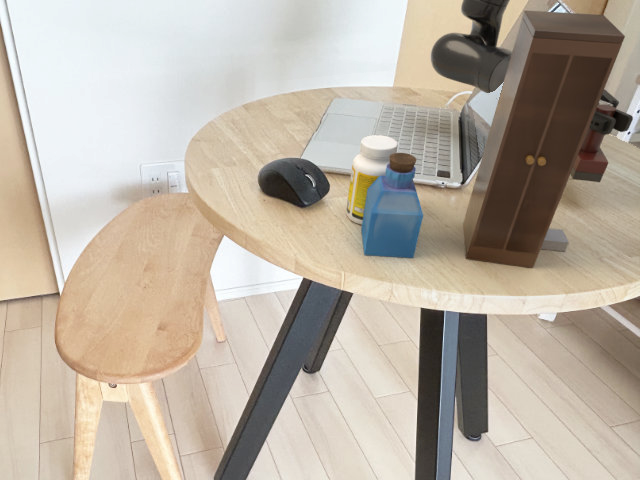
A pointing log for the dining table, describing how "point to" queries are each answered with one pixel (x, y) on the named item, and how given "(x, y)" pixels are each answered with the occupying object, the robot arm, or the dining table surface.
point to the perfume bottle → (393, 211)
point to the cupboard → (537, 132)
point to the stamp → (592, 153)
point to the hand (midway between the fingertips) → (619, 126)
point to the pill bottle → (367, 172)
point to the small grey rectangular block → (555, 240)
